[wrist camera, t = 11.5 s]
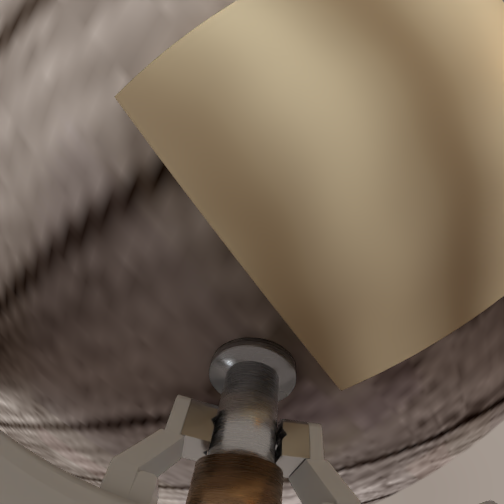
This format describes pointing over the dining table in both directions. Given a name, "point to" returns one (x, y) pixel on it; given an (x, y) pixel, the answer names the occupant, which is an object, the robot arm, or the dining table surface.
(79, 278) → the dining table surface
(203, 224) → the dining table surface
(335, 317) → the panel
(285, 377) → the brown goblet
